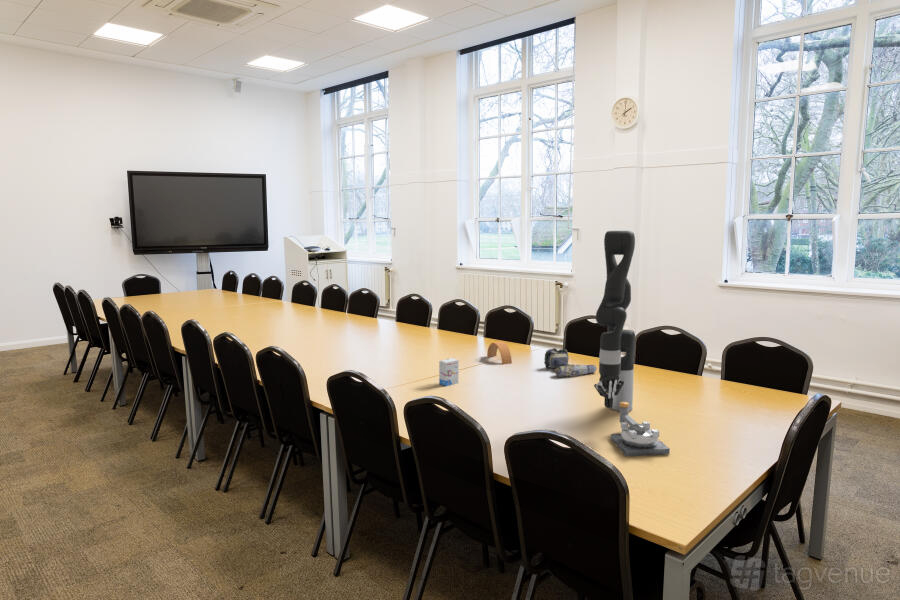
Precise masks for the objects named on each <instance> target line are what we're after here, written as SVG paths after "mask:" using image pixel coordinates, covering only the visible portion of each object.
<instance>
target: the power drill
mask: <svg viewBox="0 0 900 600" xmlns="http://www.w3.org/2000/svg"><path fill="white" fill-rule="evenodd" d="M568 353H569V352H568V350H567V349H564V348H561V349H559V350H558V349H557V348H556V347H553V348H550V349H547V350H545V353H544V361H543V362H544V366H545V368H551V369H554V373H555V375H556V376H557V377H558V378H566V377H577V376H582V375H587V374H593V373H594V372H596V371H597V366H596V365H594V364H573V363H571V364H570V363H569V359H570V357H569V354H568Z"/></svg>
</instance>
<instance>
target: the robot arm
mask: <svg viewBox="0 0 900 600" xmlns="http://www.w3.org/2000/svg"><path fill="white" fill-rule="evenodd" d="M635 238H636V237H635V233H634V232H633V231H632V230H608V231H606V232H605V234H604V238H603V239H604V241H603V244H604V245H603V246H604V247H603V248H604V254H605V255H604V256H605V269H606V281H605V286H604V292H603V297H602V300H601V301H600V304H599V305H598V309H597V310H596V313H595V322H596V323H597V324H598V325H599V326H602V327H607V331H606V332H605V331H604V332H602V333H601V335H600V341H599V342H600V343H599V344H600V345H599V346H600V347H599V354H598V356H599V357H598V359H599V360H598V373H599V375H600V376H599V379H598V380H599V381H598V382H597V383H594V385H593V387H594V388H595V390H596V391H597V393H598V394H599V396H601V397H603V398H604V400H603V401H604V405H603V406H604V407H605V408H607V409H610V410H613V411H616V412H620V402H627V403H629V407H628V412H631V411H633V405H634V403H633V402H634V369H635V368H634V367H635V365H634V363H635V348H636V347H635V346H636V334H635V333H636V332H635V331H634V330H633V329H624V327H625V324H626V321H627V315H628V314H627V308H629V306H630V304H631V301H632V288H631V286H632V285H631V283H630V281H629V279H628V273H629V271H630V267H631V263H632V260H633V256H634V252H635V246H636V239H635ZM616 256H622V258H621V260H620V261H619V263H618V262H617V260H616ZM621 353H625V355H623V356H622V355H621Z"/></svg>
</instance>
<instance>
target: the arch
mask: <svg viewBox="0 0 900 600" xmlns="http://www.w3.org/2000/svg"><path fill="white" fill-rule="evenodd" d="M498 350H499V353H500V358H501V359H500V360H501V365H509V364H512V363H513V361H512V354H511V351H510V347H509V346H508V345H507V343H505V342H504V341H495V342H491V343H490V344H489V346H488V348H487V357H488V358H490V357H497V354H498V353H497V352H498Z"/></svg>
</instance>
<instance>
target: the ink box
mask: <svg viewBox="0 0 900 600" xmlns="http://www.w3.org/2000/svg"><path fill="white" fill-rule="evenodd" d="M438 363H439V365H438V367H439V368H438V369H439V371H438V372H439V376H438V378H439V385H441V386H445V387H448V386H452V385H455V384H459V374H460V373H459V369H460V367H459V359H457V358H454V357H449V358H445V359H441V360H439V361H438Z"/></svg>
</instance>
